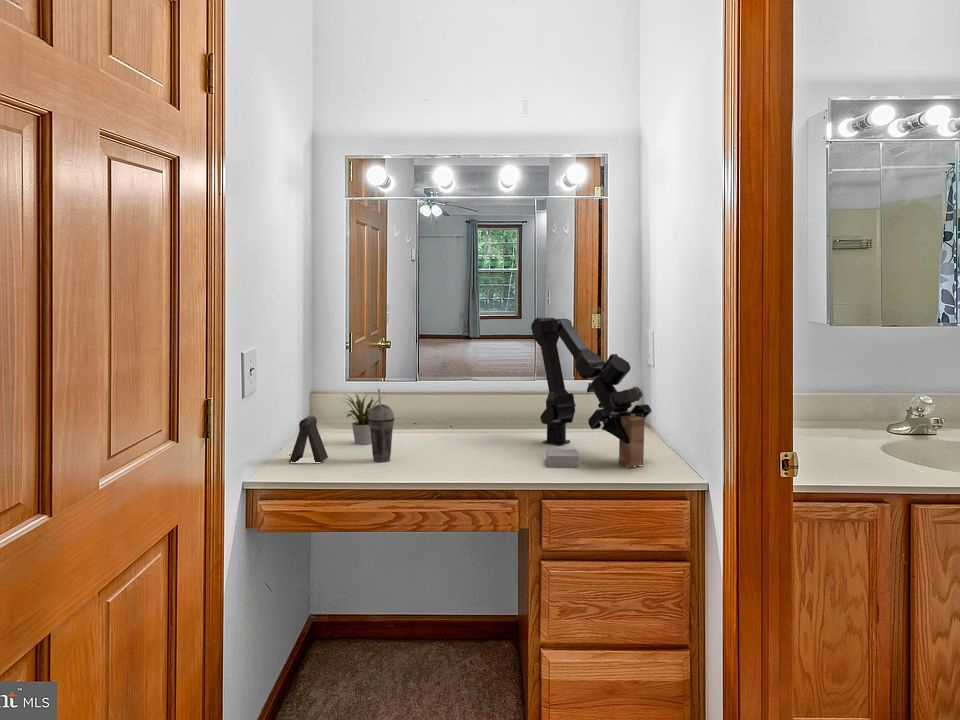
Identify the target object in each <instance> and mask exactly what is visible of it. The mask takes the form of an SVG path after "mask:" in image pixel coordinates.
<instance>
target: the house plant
mask: <svg viewBox="0 0 960 720" xmlns="http://www.w3.org/2000/svg"><path fill="white" fill-rule="evenodd" d="M354 395H355V397H356V400H357V401H355V402H354V400H353V398H352V397H351V396H349V395H348V394H343V393H342V396H347V397H348V398H349V399H348V398H345V397H344V398H343V399H344V400H348V401H349V402H350V403H349V402H347V401H343V400H342V401H341V402H344V403H346V404H347V405H348V406H350V408H351V410H348V412H345V413H347V415H346V418H349V417H352V418H353V419H354V420H355V421H354V422H352V423H351V427H352V432H353V437H354V443H355V445H357V444H359V445H358V446H367V444H368V445H372V442H371V432H370V427H369V420H368V418H369V413H370V411H371V409H372V408H373V407H374V406H376V405H377V403H379V398H378V399H377V400H376V401H375V399H374V396H372V397H371V399H370V400H369V402H368V404H367V405H366V407H365V399H366V397H367V396H368V394H367V391H366V392H365V395H364V397H363V399H362V400H361V399H360V398H359V395H358V394H357V393H356V392H355V394H354ZM385 397H386V396H381V397H380V399H383V398H385ZM374 401H375V403H373V402H374ZM351 404H352V405H351ZM372 404H373V405H372ZM352 406H353V407H354V408H355V409H354V408H353V407H352ZM364 408H365V409H364Z"/></svg>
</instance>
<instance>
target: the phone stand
mask: <svg viewBox="0 0 960 720" xmlns="http://www.w3.org/2000/svg"><path fill="white" fill-rule="evenodd" d="M317 421H318V420H317V417H316V416H314V415H312V416H310V415H309V416H307V417H305V418H303V419H301V420H300V421H299V424H298V426H299V429H298V431H299V432H298V434H297V437H296V440H295V442H294V443H295V444H294V446H293V448H292V453H291V454H290V457H289V458H290V459H289V460H288V461H289V462H291V461H292V462H296V461H298V460H299V459H300V458H302V457H303V456H304V453H305V448H306V444H307V440H308V442H309V446H310V449H311V452H312V455H313V456H312V457H314V460H315V462H322V461H323V460H325V459H326V458H327V459H329V456H328V453H327V450H326V448H325V445H324V442H323V440H322V438H321V435H320V432H319V429H318V426H317V423H318V422H317ZM327 459H326V460H327ZM326 460H325V461H326ZM322 463H323V462H322Z"/></svg>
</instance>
